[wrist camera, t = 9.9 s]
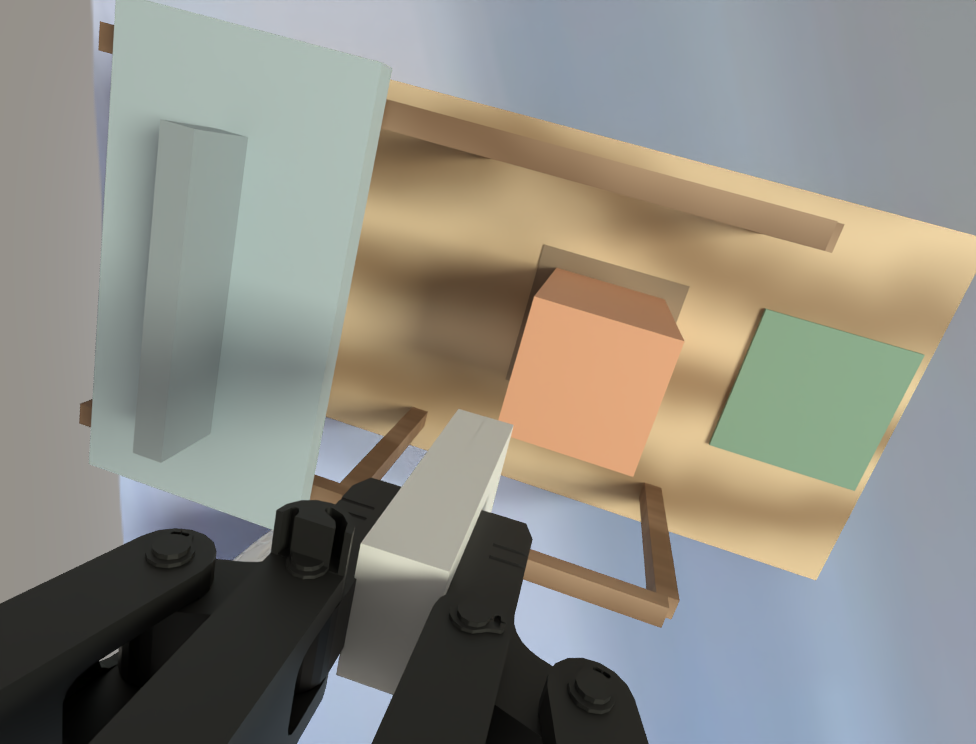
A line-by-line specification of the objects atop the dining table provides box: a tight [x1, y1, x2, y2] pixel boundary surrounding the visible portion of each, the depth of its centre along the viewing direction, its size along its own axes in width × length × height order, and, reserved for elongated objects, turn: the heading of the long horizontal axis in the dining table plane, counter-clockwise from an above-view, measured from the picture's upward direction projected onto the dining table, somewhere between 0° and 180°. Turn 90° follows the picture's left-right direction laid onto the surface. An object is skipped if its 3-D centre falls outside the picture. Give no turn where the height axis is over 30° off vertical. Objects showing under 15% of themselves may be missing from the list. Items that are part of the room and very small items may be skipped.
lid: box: [89, 0, 392, 530], centre depth 23 cm, size 19×10×4 cm, turn 165°
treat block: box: [498, 268, 685, 477], centre depth 30 cm, size 6×6×10 cm
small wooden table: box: [79, 22, 976, 628], centre depth 30 cm, size 20×38×13 cm, turn 75°
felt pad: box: [709, 308, 925, 491], centre depth 33 cm, size 8×8×1 cm
